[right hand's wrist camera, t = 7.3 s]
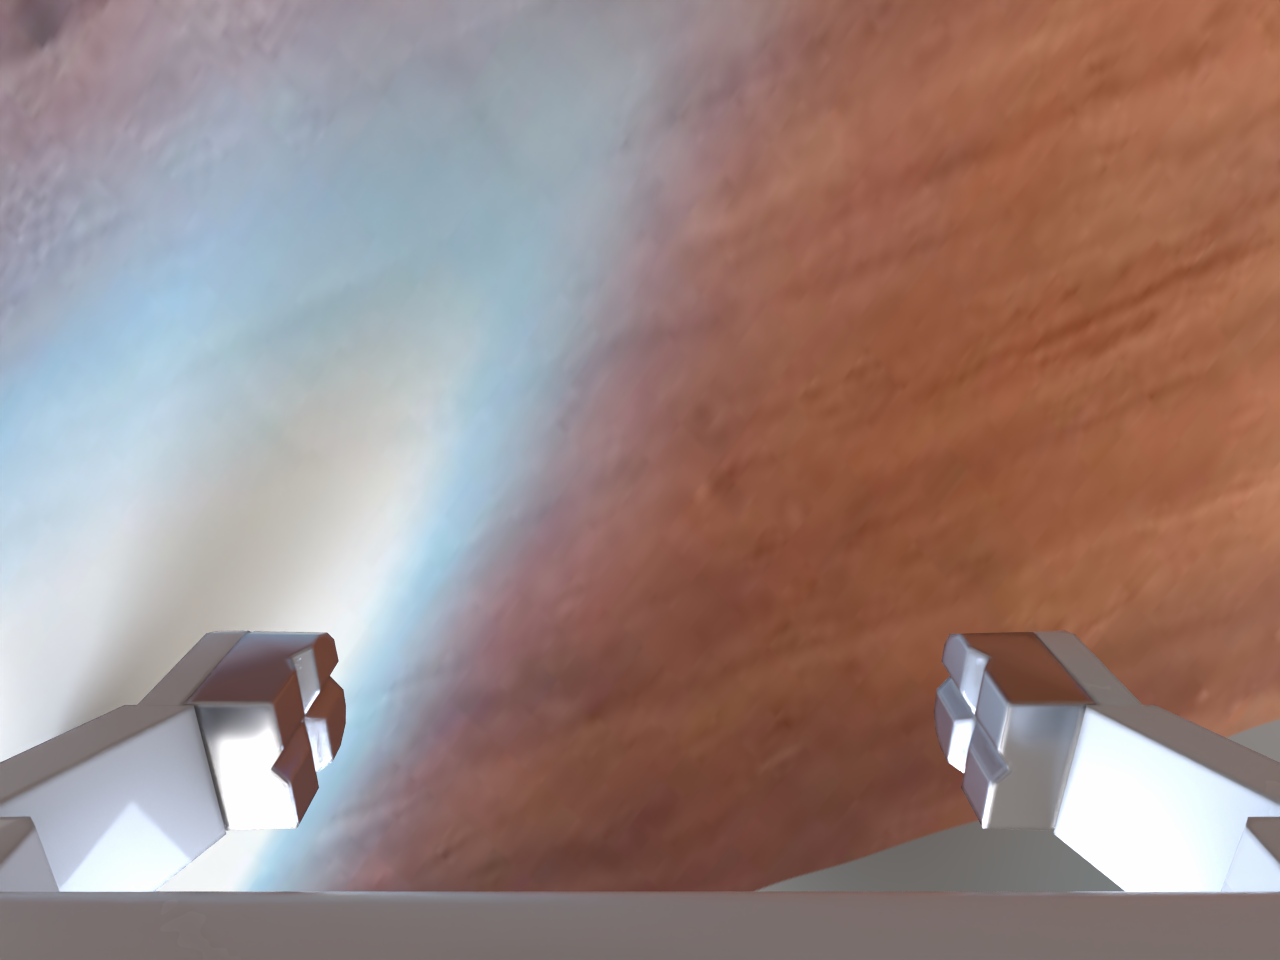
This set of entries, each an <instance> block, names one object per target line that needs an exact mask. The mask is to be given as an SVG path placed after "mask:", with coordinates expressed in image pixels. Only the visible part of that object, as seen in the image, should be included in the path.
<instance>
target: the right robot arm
mask: <svg viewBox="0 0 1280 960" xmlns="http://www.w3.org/2000/svg"><path fill="white" fill-rule="evenodd" d="M337 663H338V656H337V652H336V647H335V642H334V639H333V638H332V637H331V636H330V635H329V634H328V633H319V632H269V631H253V632H250V631H215V632H211V633H207V634H206V635H205V636H204V637H203V638H202V639H201V640H200V641H199V642H198V643H197V644H196V645H195V646H194V647H193V648H192V649H191V650H190V651H189V652H188V653H187V654H186V655H185V656H184V657H183V658H182V659H181V660H180V661H179V662H178V663H177V664H176V666H175V667H174V668H173V669H172V670H171V671H170V672H169V673H168V674H167V675H166V676H165V677H164V678H163V679H162V680H161V681H160V682H159V683H158V684H157V685H156V686H155V687H154V688H153V689H152V690H151V691H150V692H149V693H148V694H147V696H146V697H145V698H144V699H143V700H142V701H141V702H140V703H139V704H138V705H124V706H122V707H120V708H117V709H115V710H113V711H111V712H109V713H107V714H104V715H102V716H100V717H98V718H96V719H94V720H91V721H89V722H87V723H85V724H83V725H81V726H78V727H76V728H74V729H72V730H70V731H68V732H65V733H63V734H61V735H59V736H57V737H55V738H52V739H50V740H48V741H46V742H44V743H42V744H39V745H37V746H35V747H33V748H31V749H29V750H26V751H24V752H22V753H20V754H18V755H16V756H13V757H11V758H9V759H7V760H5V761H3V762H0V960H1280V763H1279V762H1277V761H1275V760H1273V759H1271V758H1268V757H1266V756H1264V755H1262V754H1260V753H1258V752H1255V751H1253V750H1251V749H1249V748H1247V747H1245V746H1242V745H1240V744H1238V743H1236V742H1234V741H1232V740H1229V739H1227V738H1225V737H1223V736H1221V735H1219V734H1217V733H1214V732H1212V731H1210V730H1208V729H1206V728H1204V727H1201V726H1199V725H1197V724H1195V723H1193V722H1191V721H1188V720H1186V719H1184V718H1182V717H1180V716H1178V715H1176V714H1173V713H1171V712H1169V711H1167V710H1165V709H1163V708H1160V707H1158V706H1156V705H1142V704H1141V703H1140V702H1139V701H1138V700H1137V699H1136V698H1135V696H1134V695H1133V694H1132V693H1131V692H1130V691H1129V690H1128V689H1127V688H1126V687H1125V686H1124V685H1123V684H1122V683H1121V682H1120V681H1119V680H1118V679H1117V678H1116V677H1115V676H1114V675H1113V674H1112V673H1111V672H1110V671H1109V670H1108V668H1107V667H1106V666H1105V665H1104V664H1103V663H1102V662H1101V661H1100V660H1099V659H1098V658H1097V657H1096V656H1095V655H1094V654H1093V653H1092V652H1091V651H1090V650H1089V649H1088V648H1087V647H1086V646H1085V645H1084V644H1083V643H1082V642H1081V641H1080V639H1079V638H1078V637H1077V636H1076V635H1075V634H1072V633H1070V632H1067V631H1065V630H1061V631H1035V632H1009V633H969V634H949V636H948V639H947V641H946V643H945V645H944V650H943V656H942V663H943V664H944V666H945V668H946V669H947V671H948V673H949V674H950V677H949V678H948V679H947V680H946V681H945V682H944V683H943V684H942V685H941V686H940V687H939V688H938V689H937V691H936V699H935V707H934V717H935V729H936V734H937V738H938V741H939V744H940V748H941V750H942V752H943V754H944V756H945V758H946V760H947V762H948V763H950V764H951V765H953V766H954V767H956V768H957V769H959V770H960V771H962V772H963V773H964V775H963V781H962V786H961V788H962V790H963V792H964V794H965V796H966V797H967V799H968V801H969V803H970V805H971V807H972V809H973V810H974V812H975V814H976V816H977V818H978V820H979V822H980V823H981V825H982V827H983V828H985V829H1021V830H1055V831H1054V834H1055V835H1056V836H1057V837H1059V838H1060V839H1061V840H1062V841H1064V842H1065V843H1066V844H1067V845H1069V846H1070V847H1071V848H1072V849H1074V850H1075V851H1076V852H1077V853H1079V854H1080V855H1081V856H1082V857H1084V858H1085V859H1086V860H1087V861H1089V862H1090V863H1091V864H1092V865H1094V866H1095V867H1096V868H1097V869H1098V870H1100V871H1101V872H1102V873H1103V874H1105V875H1106V876H1107V877H1108V878H1110V879H1111V880H1112V881H1113V882H1115V883H1116V884H1117V885H1118V886H1120V887H1121V888H1122V889H1123V890H1125V891H1126V892H154V891H156V890H157V889H158V888H159V887H161V886H162V885H163V884H164V883H166V882H167V881H168V880H169V879H171V878H172V877H173V876H174V875H176V874H177V873H178V872H179V871H181V870H182V869H183V868H184V867H186V866H187V865H188V864H189V863H191V862H192V861H193V860H194V859H196V858H197V857H198V856H199V855H201V854H202V853H203V852H204V851H206V850H207V849H208V848H209V847H211V846H212V845H213V844H214V843H216V842H217V841H218V840H219V839H221V838H222V837H223V836H224V835H225V834H226V831H225V830H258V829H293V828H297V827H298V826H299V824H300V822H301V820H302V818H303V816H304V814H305V812H306V811H307V809H308V807H309V805H310V803H311V801H312V799H313V798H314V796H315V794H316V792H317V790H318V788H319V786H318V781H317V775H316V773H317V772H318V771H320V770H321V769H323V768H324V767H326V766H327V765H329V764H330V763H332V762H333V760H334V758H335V756H336V754H337V752H338V750H339V748H340V746H341V741H342V737H343V732H344V728H345V724H346V704H345V698H344V691H343V689H342V688H341V687H340V686H339V685H338V684H337V683H336V682H335V681H334V680H333V679H332V678H331V677H330V674H331V673H332V671H333V669H334V668H335V666H336V664H337Z"/></svg>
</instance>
